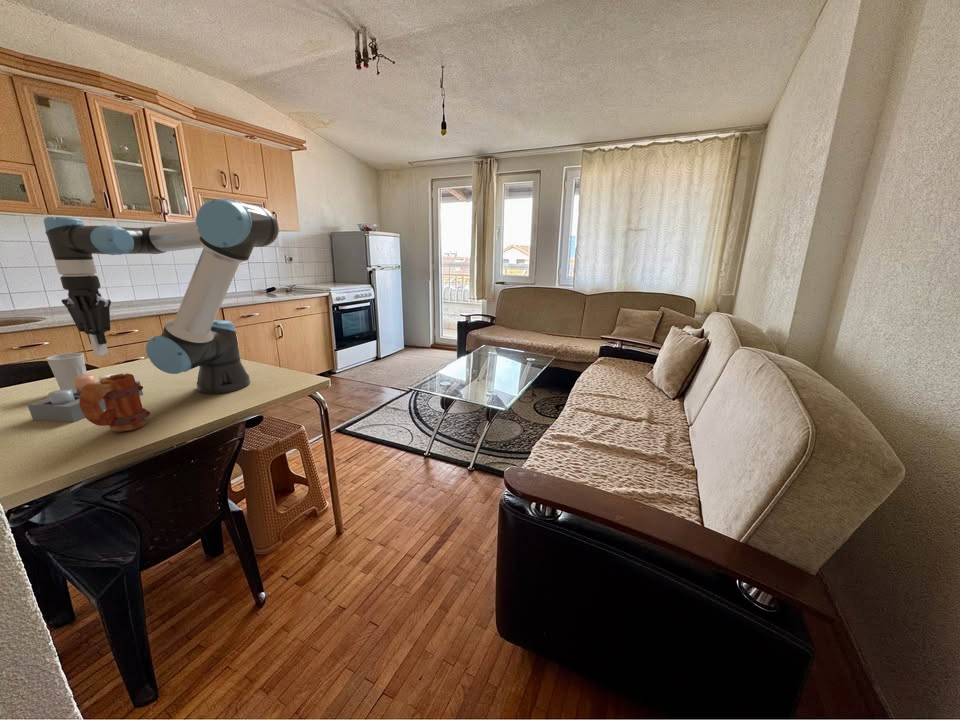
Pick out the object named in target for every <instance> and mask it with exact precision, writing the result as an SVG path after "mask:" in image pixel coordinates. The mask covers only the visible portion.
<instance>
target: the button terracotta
mask: <svg viewBox="0 0 960 720" xmlns="http://www.w3.org/2000/svg"><path fill="white" fill-rule="evenodd" d="M96 379H97V378H96V376H95V374H93V373H92V374H91V373H87V374H86V375H80V376H76V377H74V378H73V381H74V385H75V388H76V391H77V394H78V395H80V394H81V391H82V388H83V387H84V386H85V385H86V384H89V383H97V382H98V381H97V380H96Z"/></svg>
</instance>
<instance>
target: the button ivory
mask: <svg viewBox="0 0 960 720" xmlns="http://www.w3.org/2000/svg"><path fill="white" fill-rule="evenodd" d="M111 375H117V373H112V374H105V375H100V376H98V380H99V381H100V380H101V379H102V378H106V377H108V378H109V377H110V376H111ZM99 381H98V382H99Z"/></svg>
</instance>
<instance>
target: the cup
mask: <svg viewBox="0 0 960 720" xmlns="http://www.w3.org/2000/svg"><path fill="white" fill-rule="evenodd" d="M45 359H46V361H47V363H48V365H49V368H50V369H51V372H52V374H53V376H54V378H55V381H56V383H57V385H58V387H59V390H62V389H72V390H74V389H76V388H75V385H74V381H73V378H74V377H76V376H80V375H86V374H88V373H87V367H86V364H85V363H86V362H85V357H84V353H83V352H69V353H68V352H67V353H61V354H55V355H51V356H47V357H46V358H45Z"/></svg>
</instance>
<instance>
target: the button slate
mask: <svg viewBox="0 0 960 720" xmlns="http://www.w3.org/2000/svg"><path fill="white" fill-rule="evenodd" d="M47 395H48V398H50V401H51V404H52V405H63V404H66V403H69V402H72V401H74V400H75V398H74V395H73V392H72V389H62V390H61V389H57V390H54V391H50V392H48V394H47Z"/></svg>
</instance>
